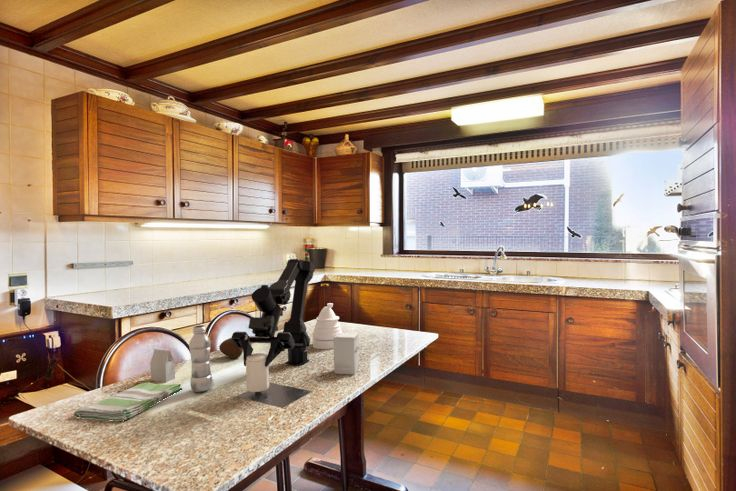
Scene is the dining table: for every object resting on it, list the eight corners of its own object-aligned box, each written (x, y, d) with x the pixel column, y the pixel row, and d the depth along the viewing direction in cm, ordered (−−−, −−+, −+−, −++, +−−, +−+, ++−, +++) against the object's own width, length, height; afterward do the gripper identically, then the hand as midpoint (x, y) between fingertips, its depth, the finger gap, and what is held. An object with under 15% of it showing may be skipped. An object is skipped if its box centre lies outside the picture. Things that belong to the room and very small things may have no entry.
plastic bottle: (191, 396, 123) (188, 329, 122) (189, 389, 129) (187, 325, 128) (214, 392, 126) (211, 327, 125) (211, 385, 132) (209, 323, 131)
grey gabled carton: (166, 382, 136) (165, 352, 135) (151, 380, 138) (149, 350, 138) (175, 378, 139) (173, 349, 139) (160, 376, 142) (158, 347, 141)
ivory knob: (244, 388, 122) (242, 356, 122) (262, 382, 126) (261, 352, 126) (253, 393, 118) (252, 360, 118) (272, 387, 122) (271, 356, 122)
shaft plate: (235, 399, 120) (235, 384, 120) (267, 384, 131) (267, 371, 131) (282, 410, 111) (282, 395, 111) (312, 393, 122) (312, 379, 122)
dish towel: (71, 419, 110) (70, 406, 110) (138, 388, 132) (137, 377, 132) (124, 425, 106) (123, 411, 106) (184, 391, 128) (183, 380, 128)
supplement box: (354, 374, 138) (353, 337, 137) (333, 374, 139) (332, 337, 139) (359, 367, 145) (358, 332, 145) (339, 367, 146) (338, 331, 146)
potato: (236, 361, 157) (236, 340, 157) (215, 359, 160) (215, 339, 160) (248, 355, 164) (247, 336, 163) (228, 354, 167) (227, 334, 167)
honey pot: (348, 343, 179) (347, 302, 178) (330, 350, 168) (329, 306, 167) (325, 339, 186) (324, 300, 185) (306, 346, 175) (305, 304, 174)
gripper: (232, 305, 127) (214, 351, 116) (290, 306, 124) (277, 353, 113) (245, 325, 135) (230, 369, 124) (299, 326, 132) (288, 371, 121)
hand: (255, 365), depth 121 cm, fingers closed on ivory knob, 6 cm apart
